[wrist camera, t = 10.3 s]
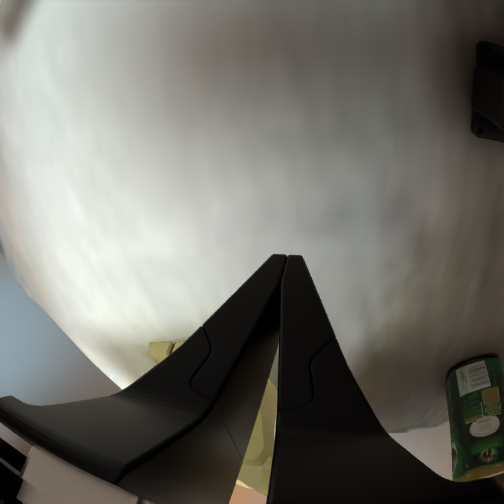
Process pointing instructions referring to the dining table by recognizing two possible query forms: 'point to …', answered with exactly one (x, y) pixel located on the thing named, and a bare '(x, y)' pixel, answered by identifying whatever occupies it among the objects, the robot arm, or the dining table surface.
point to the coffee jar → (477, 419)
